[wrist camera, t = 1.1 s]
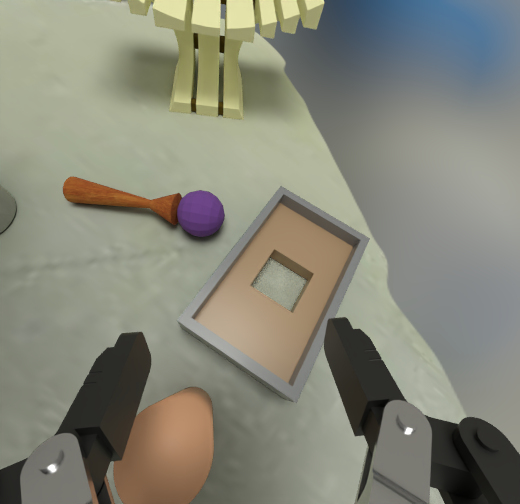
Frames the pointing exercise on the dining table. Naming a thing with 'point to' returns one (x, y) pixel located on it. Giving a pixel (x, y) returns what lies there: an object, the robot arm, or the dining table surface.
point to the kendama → (155, 205)
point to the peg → (168, 451)
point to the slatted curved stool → (220, 44)
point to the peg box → (267, 310)
